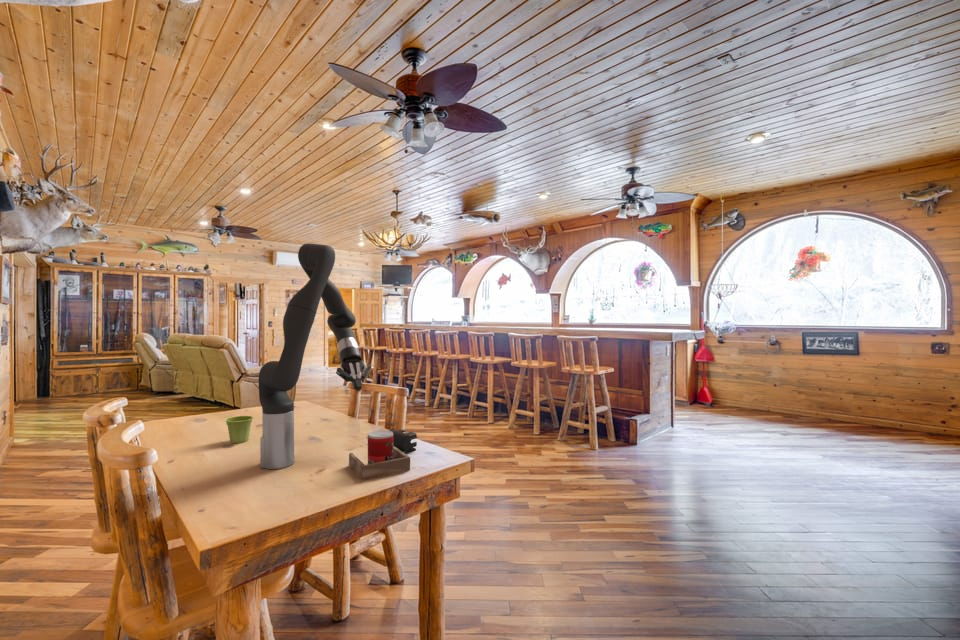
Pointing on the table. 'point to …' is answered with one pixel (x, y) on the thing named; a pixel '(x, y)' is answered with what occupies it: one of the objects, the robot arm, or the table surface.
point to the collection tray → (380, 465)
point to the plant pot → (239, 428)
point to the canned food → (380, 446)
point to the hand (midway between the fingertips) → (358, 389)
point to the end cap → (404, 440)
